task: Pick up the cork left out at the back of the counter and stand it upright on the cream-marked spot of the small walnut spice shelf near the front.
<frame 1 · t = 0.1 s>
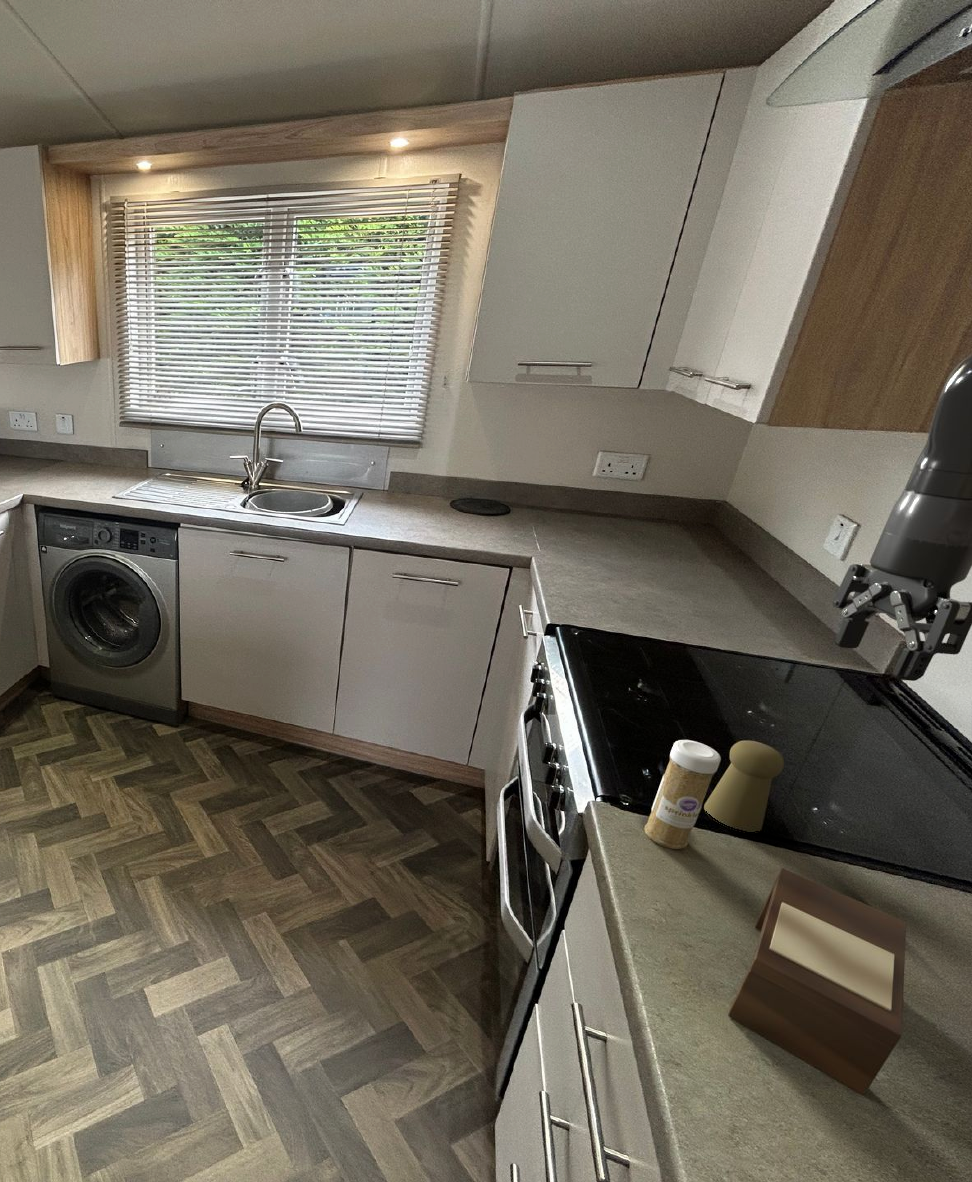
hand: (873, 661, 77), 23 cm above the countertop, tool pointing down, fingers open, 8 cm apart
sprinkles bottle: (664, 838, 80), on the countertop
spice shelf: (803, 996, 61), on the countertop
cork: (731, 817, 84), on the countertop
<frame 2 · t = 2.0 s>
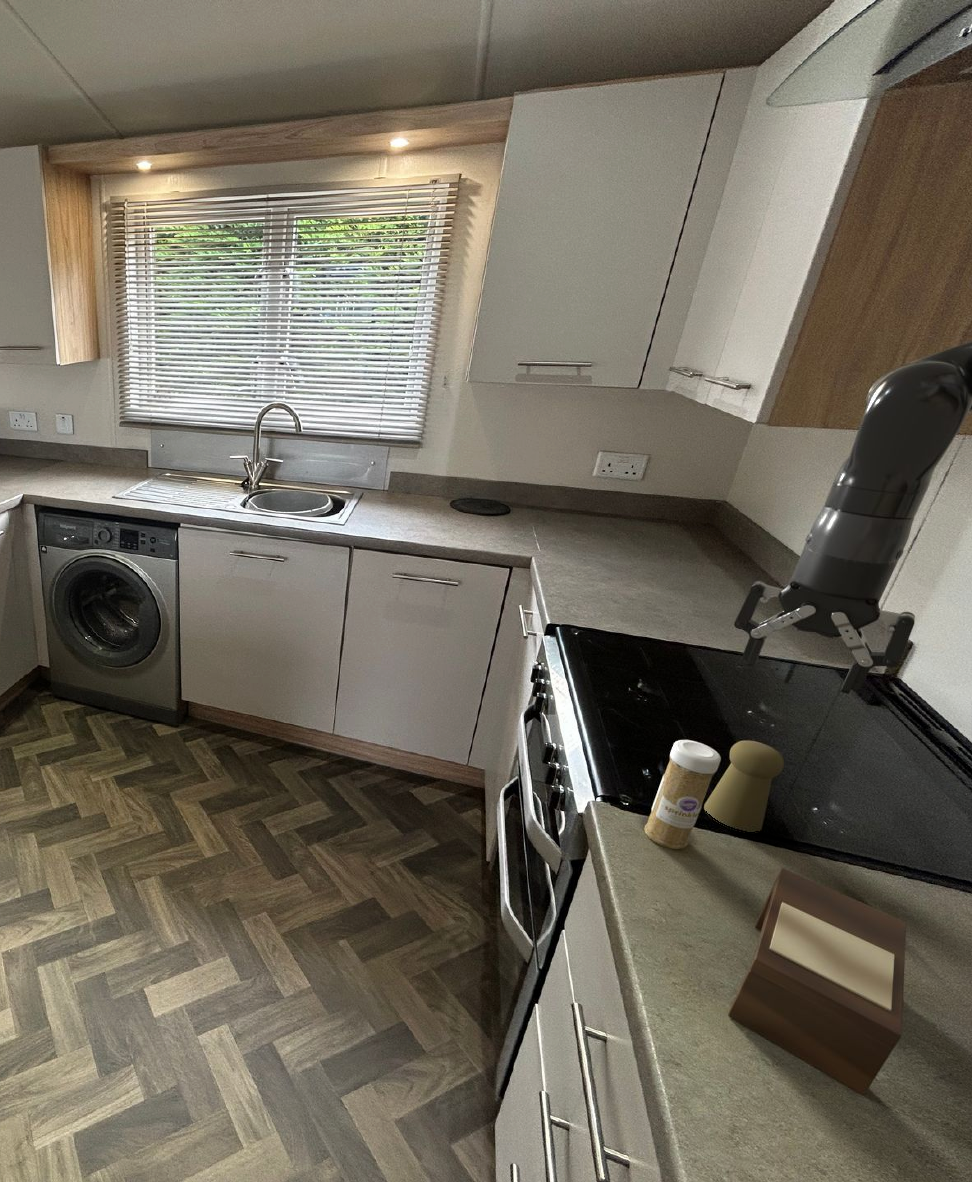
hand: (795, 676, 77), 21 cm above the countertop, tool pointing down, fingers open, 8 cm apart
nothing on the countertop moved.
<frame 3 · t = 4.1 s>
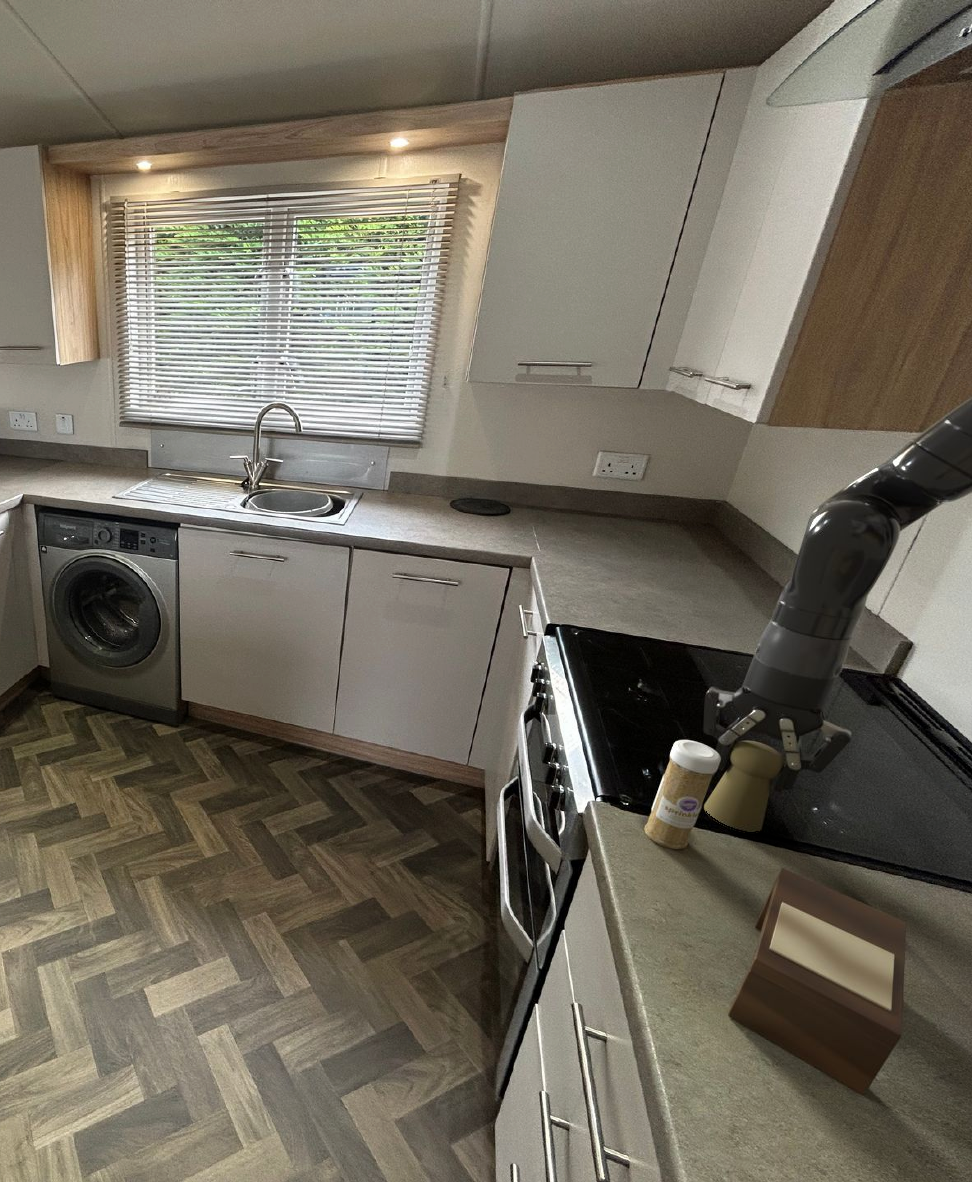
hand: (748, 776, 82), 6 cm above the countertop, tool pointing down, fingers closed on cork, 5 cm apart
cork: (731, 817, 84), on the countertop, touching gripper
everything else where it was.
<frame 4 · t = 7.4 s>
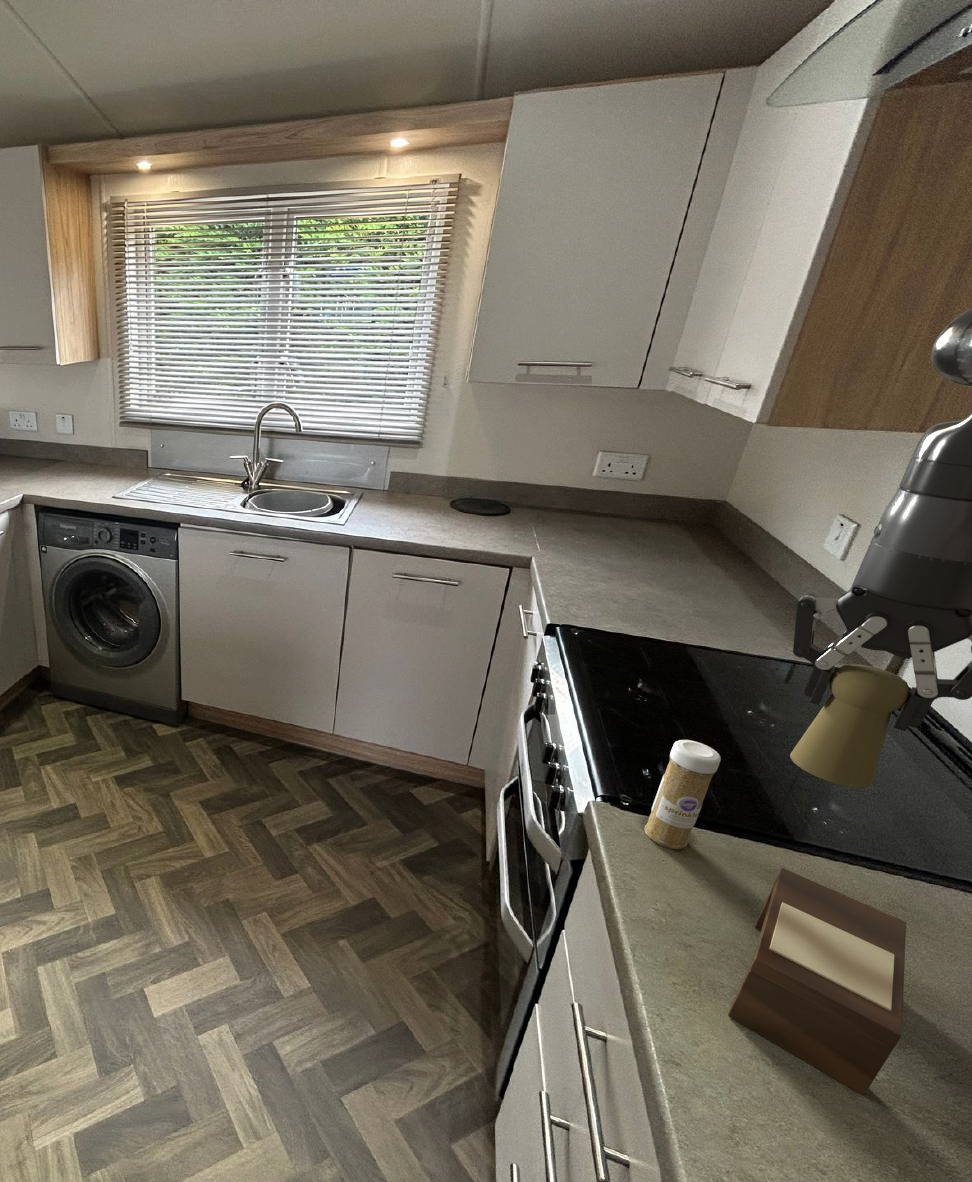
hand: (855, 712, 61), 26 cm above the countertop, tool pointing down, fingers closed on cork, 5 cm apart
cork: (829, 769, 63), point 19 cm above the countertop, touching gripper
everything else where it was.
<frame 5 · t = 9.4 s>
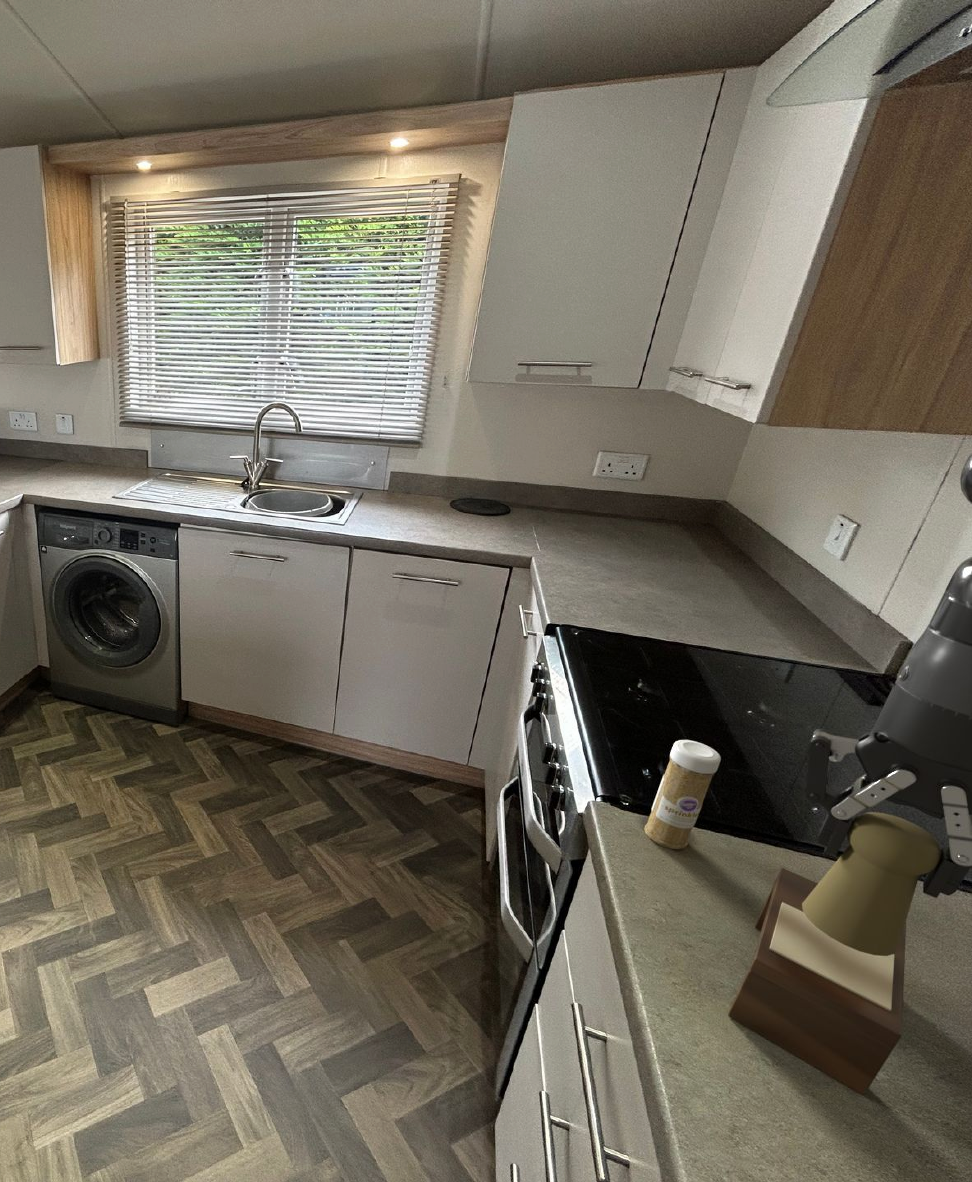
hand: (877, 868, 53), 17 cm above the countertop, tool pointing down, fingers closed on cork, 5 cm apart
cork: (847, 926, 56), point 11 cm above the countertop, touching gripper
everything else where it was.
when the fingers open (14 cm above the countertop, at t = 10.9 s): cork stays where it is, resting on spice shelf.
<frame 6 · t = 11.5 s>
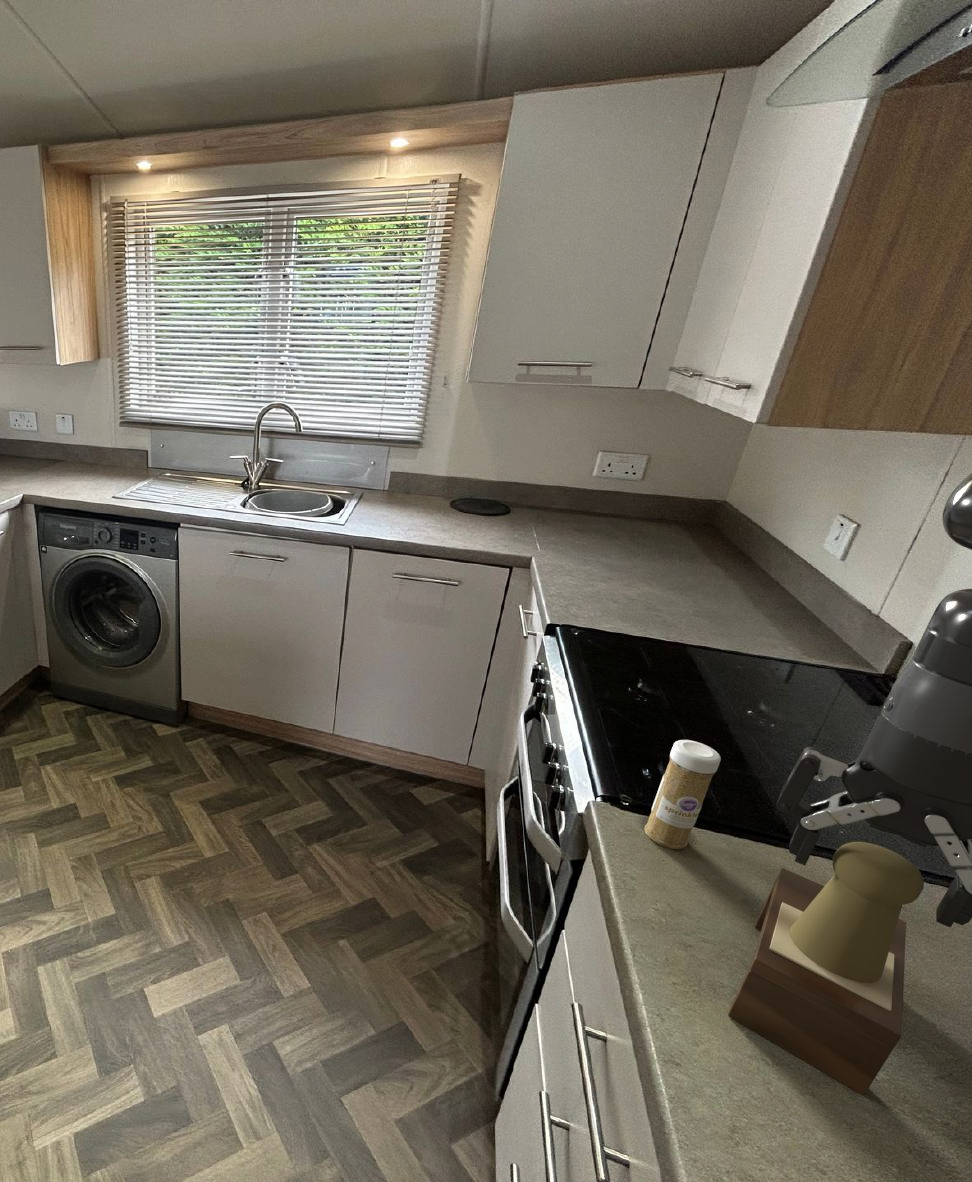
hand: (867, 887, 54), 15 cm above the countertop, tool pointing down, fingers open, 8 cm apart
cork: (833, 952, 57), point 8 cm above the countertop, touching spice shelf
everything else where it was.
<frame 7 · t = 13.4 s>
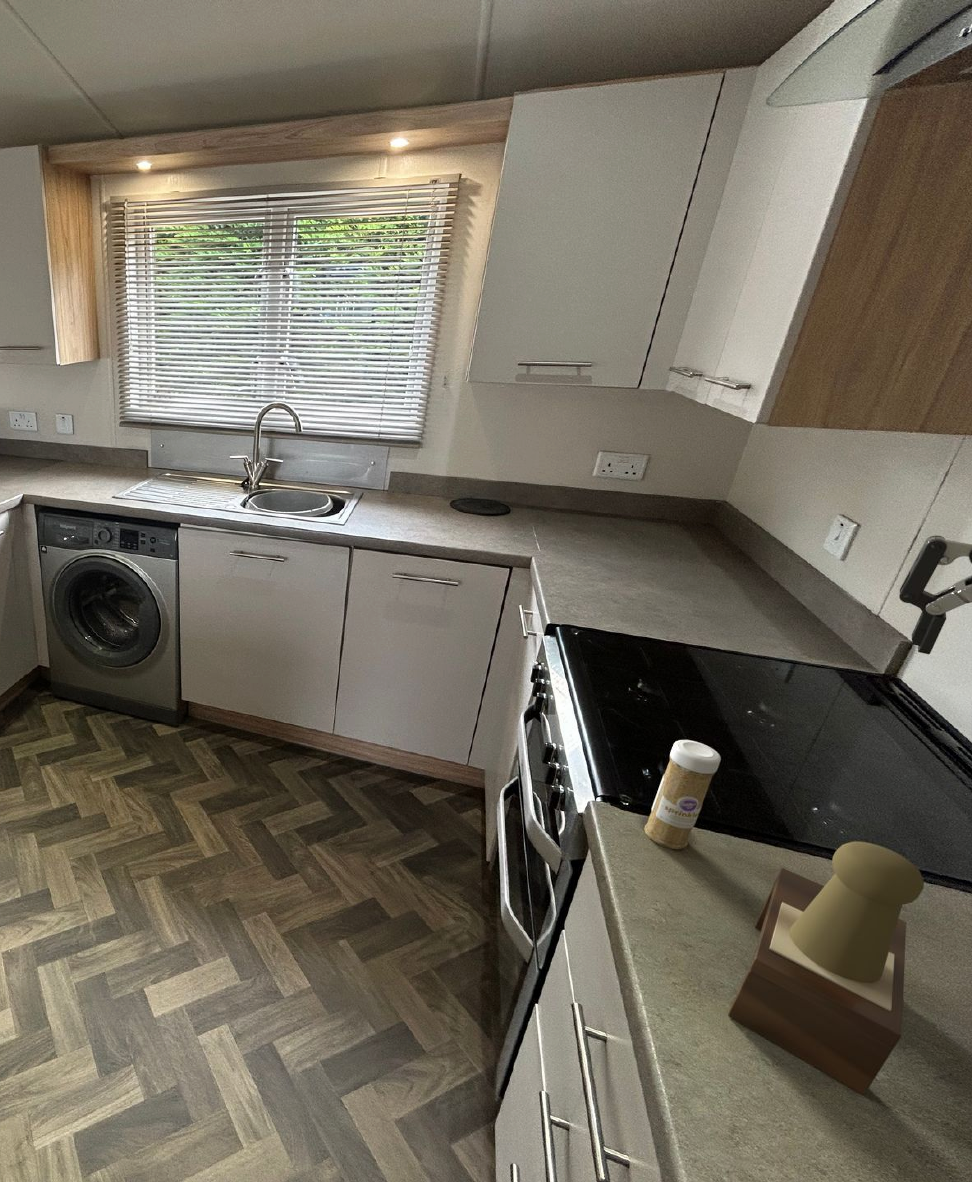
nothing on the countertop moved.
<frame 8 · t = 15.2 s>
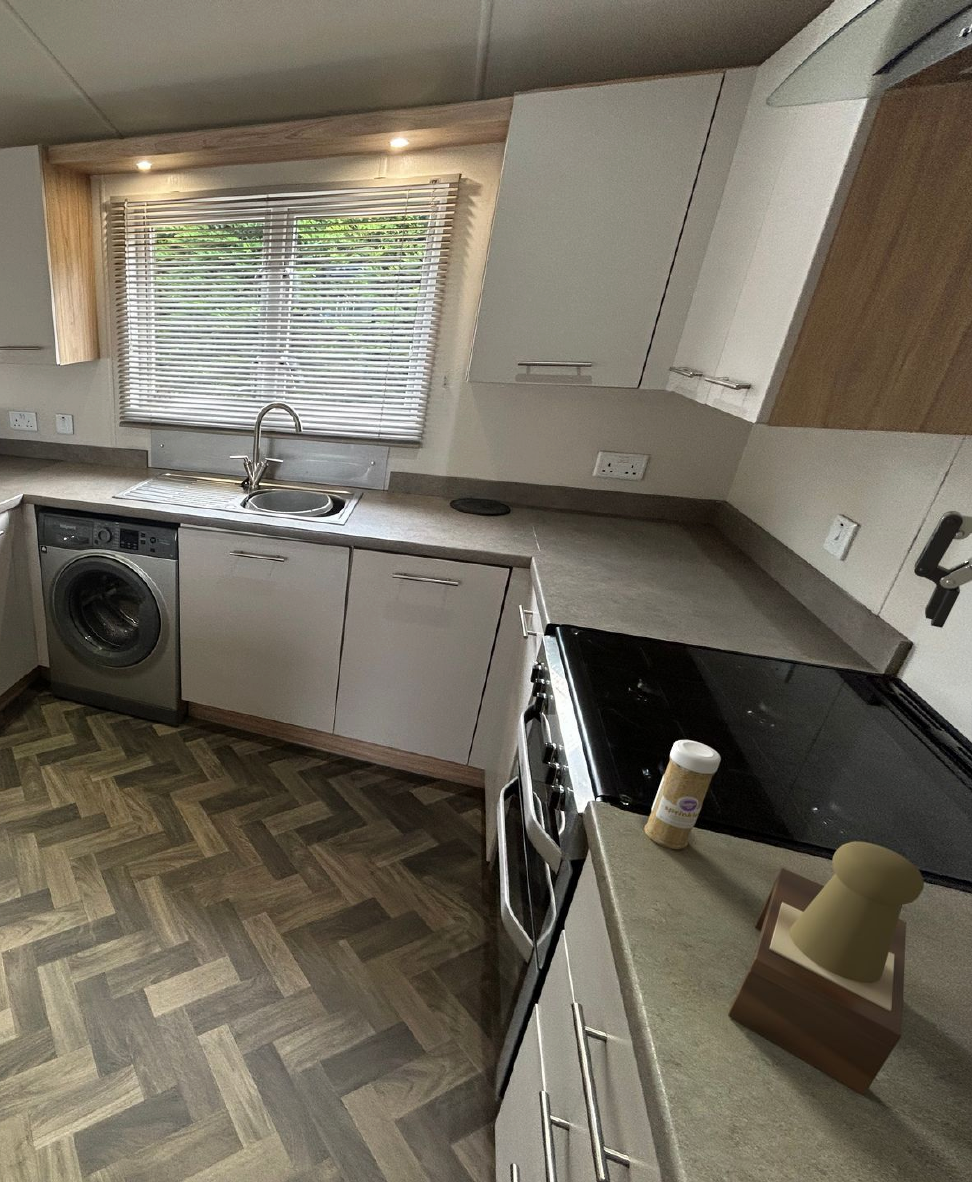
nothing on the countertop moved.
at the end: cork 0.1 cm from the target spot on the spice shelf, point 7.5 cm above the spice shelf's base; cork tilted 0°; the gripper is holding nothing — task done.
